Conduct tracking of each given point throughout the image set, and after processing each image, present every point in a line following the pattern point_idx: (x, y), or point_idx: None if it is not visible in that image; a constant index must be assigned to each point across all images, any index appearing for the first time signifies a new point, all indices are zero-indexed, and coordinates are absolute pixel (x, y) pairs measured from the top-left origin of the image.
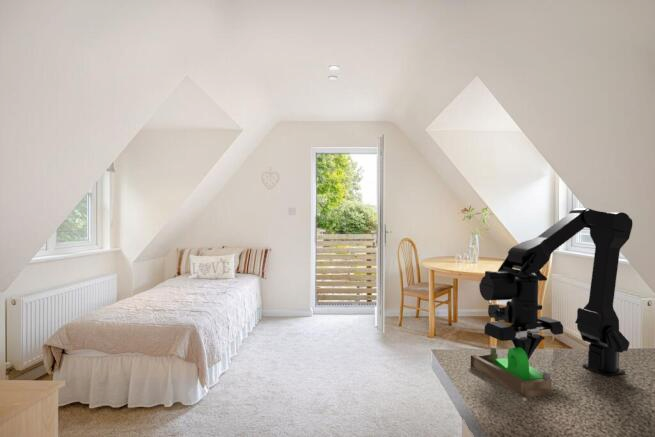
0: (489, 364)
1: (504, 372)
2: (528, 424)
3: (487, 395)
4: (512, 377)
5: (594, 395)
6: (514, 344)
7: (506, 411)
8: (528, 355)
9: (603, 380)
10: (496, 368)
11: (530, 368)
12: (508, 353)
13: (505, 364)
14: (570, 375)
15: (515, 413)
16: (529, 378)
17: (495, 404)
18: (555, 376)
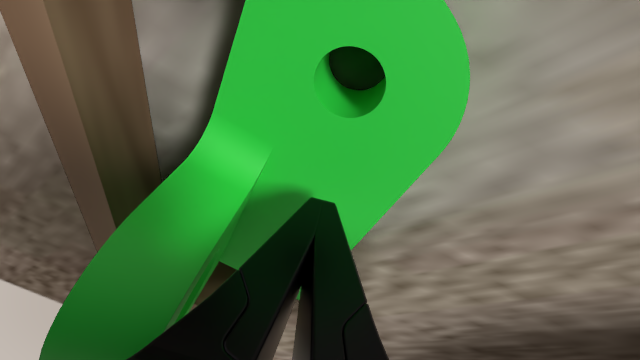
0: (32, 69)
1: (85, 202)
2: (66, 292)
3: (6, 164)
4: (97, 247)
5: (408, 347)
6: (186, 322)
7: (35, 245)
8: (299, 312)
9: (623, 352)
10: (59, 145)
11: (346, 226)
12: (108, 245)
13: (258, 75)
14: (588, 277)
15: (59, 261)
16: (223, 259)
17: (14, 211)
18: (503, 243)
